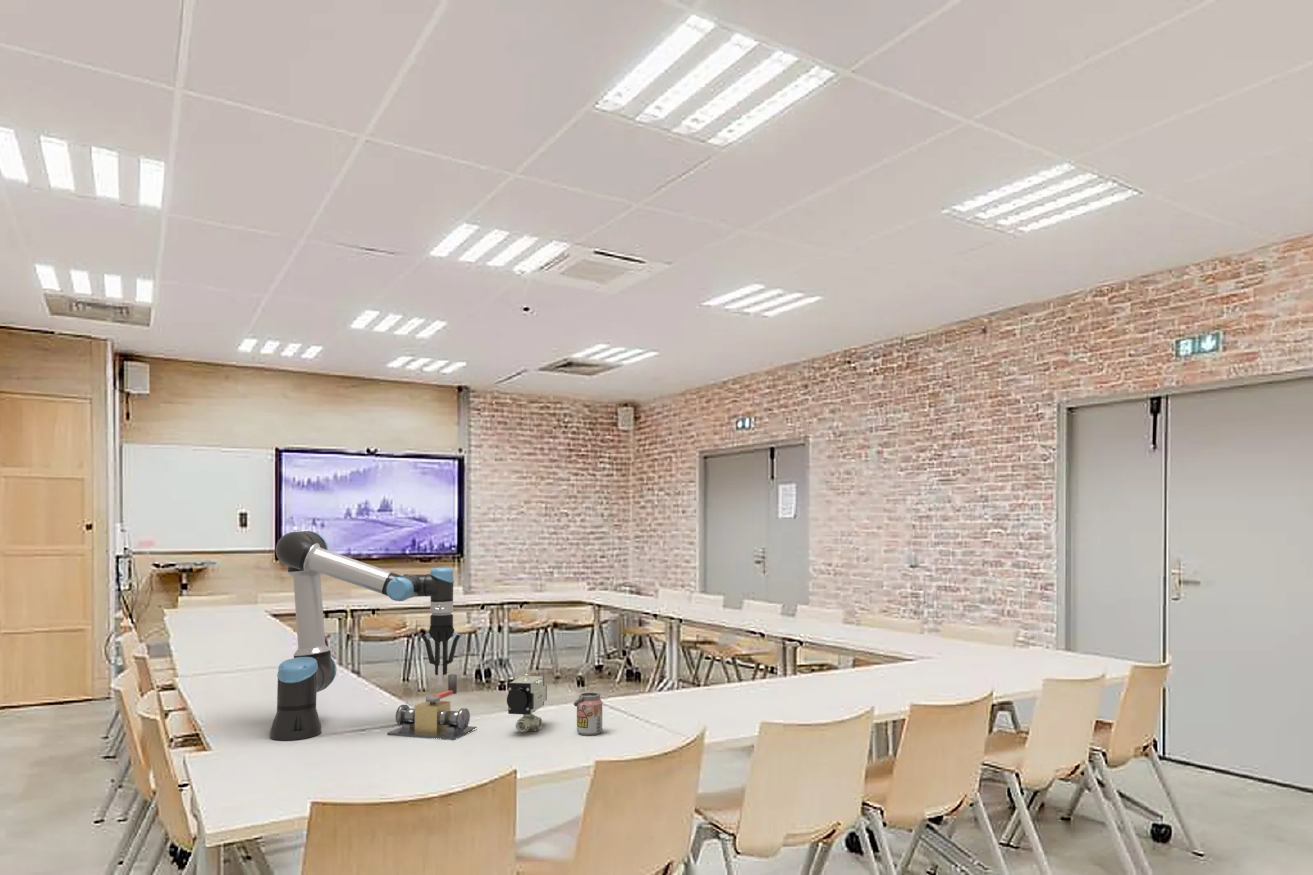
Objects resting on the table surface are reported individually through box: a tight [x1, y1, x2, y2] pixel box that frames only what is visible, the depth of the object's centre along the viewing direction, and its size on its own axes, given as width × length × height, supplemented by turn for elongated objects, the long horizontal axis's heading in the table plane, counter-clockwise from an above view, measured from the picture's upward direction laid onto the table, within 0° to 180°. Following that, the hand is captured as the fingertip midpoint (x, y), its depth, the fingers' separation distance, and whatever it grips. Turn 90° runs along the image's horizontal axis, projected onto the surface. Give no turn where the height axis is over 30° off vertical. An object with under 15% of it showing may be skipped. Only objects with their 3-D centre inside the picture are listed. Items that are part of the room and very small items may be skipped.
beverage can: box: [573, 691, 603, 737], centre depth 271 cm, size 9×8×12 cm
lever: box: [425, 673, 458, 702], centre depth 280 cm, size 16×4×6 cm, turn 163°
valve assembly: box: [386, 700, 478, 741], centre depth 274 cm, size 24×14×10 cm, turn 73°
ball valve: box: [506, 673, 548, 734], centre depth 275 cm, size 18×8×18 cm, turn 168°
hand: (441, 684), depth 287 cm, fingers closed
